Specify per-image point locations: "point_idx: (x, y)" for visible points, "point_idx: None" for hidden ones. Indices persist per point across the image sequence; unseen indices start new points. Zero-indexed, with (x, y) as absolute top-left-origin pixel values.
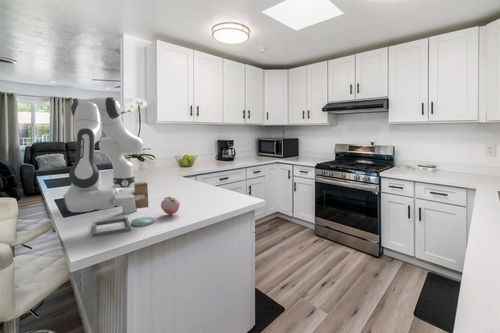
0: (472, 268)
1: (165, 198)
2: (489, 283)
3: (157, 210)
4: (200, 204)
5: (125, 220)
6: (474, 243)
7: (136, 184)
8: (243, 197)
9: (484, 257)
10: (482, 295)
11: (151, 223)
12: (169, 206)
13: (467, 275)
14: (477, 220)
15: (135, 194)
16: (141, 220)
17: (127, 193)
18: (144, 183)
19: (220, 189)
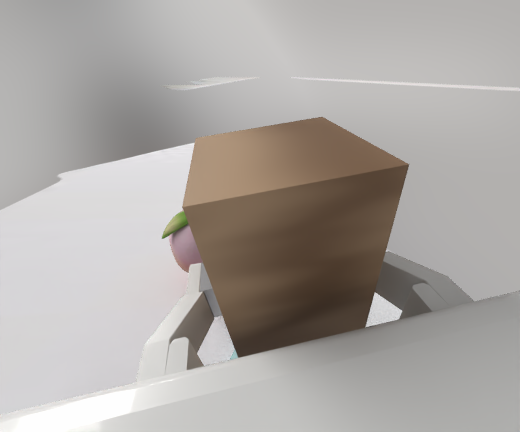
0: (461, 87)
1: (177, 227)
2: (488, 86)
3: (114, 321)
4: (159, 202)
5: None
6: (404, 84)
7: (390, 157)
8: (171, 152)
9: (434, 84)
10: (515, 88)
11: None
12: None
13: (478, 88)
14: (349, 81)
15: (320, 309)
16: None
17: (464, 409)
18: (313, 126)
19: (60, 174)
